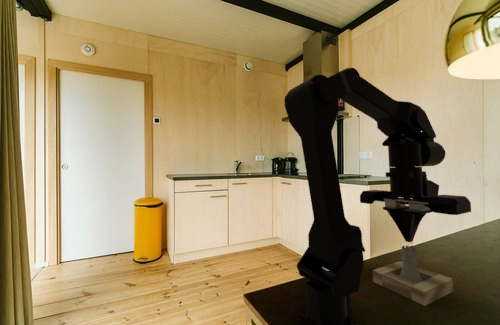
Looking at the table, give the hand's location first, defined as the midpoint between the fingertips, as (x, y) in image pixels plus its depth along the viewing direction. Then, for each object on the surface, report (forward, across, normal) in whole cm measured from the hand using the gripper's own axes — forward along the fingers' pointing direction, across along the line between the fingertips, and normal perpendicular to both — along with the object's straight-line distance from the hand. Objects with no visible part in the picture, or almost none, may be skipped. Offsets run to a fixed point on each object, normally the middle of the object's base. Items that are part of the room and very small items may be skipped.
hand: (409, 241), depth 47 cm
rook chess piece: (+10, 0, 0) cm, 10 cm away
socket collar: (+9, 0, 0) cm, 9 cm away
